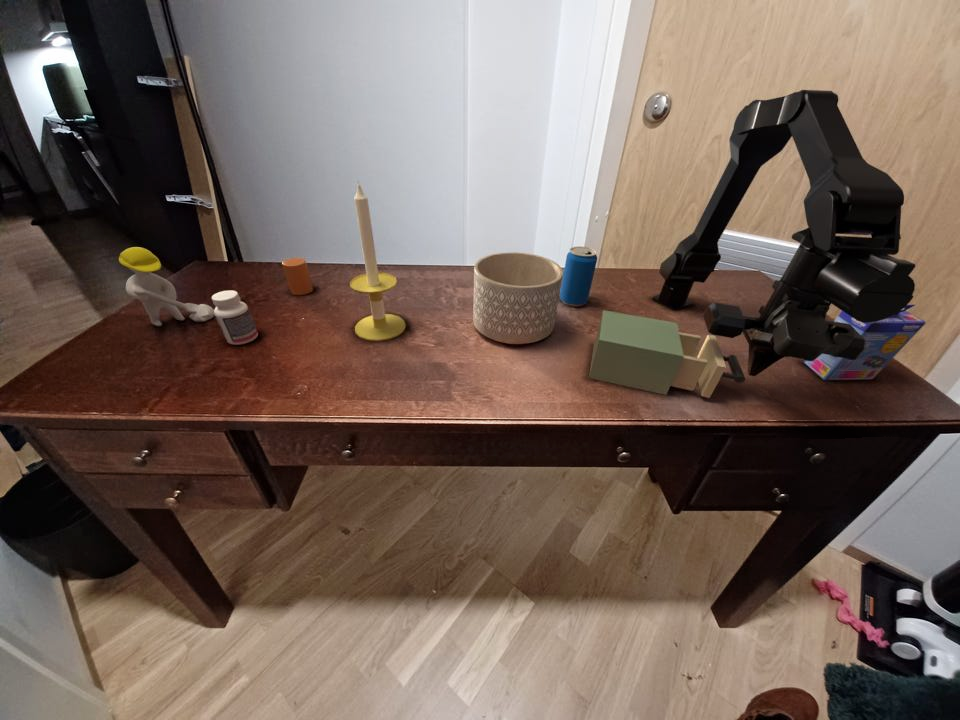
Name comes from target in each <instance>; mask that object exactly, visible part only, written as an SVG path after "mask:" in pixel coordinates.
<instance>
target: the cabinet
mask: <svg viewBox="0 0 960 720" xmlns="http://www.w3.org/2000/svg"><path fill="white" fill-rule="evenodd" d="M679 332H680V331H679V326H678V323H677V322H673V321H669V320H668V321H667V320H662V319H656V318H650V317H644V316H639V315H635V314H628V313H623V312H617V311H610V310H605V309H603V310H602V313H601V317H600V320H599V325H598V328H597V332H596V336H595V339H594V343H593V348H592V356H591V360H590V361H591V362H590V368H589V375H588V379H591V380H596V381H600V382H604V383H609V384H614V385H618V386H623V387H626V388H627V387H628V388H632V389H636V390H642V391H646V392H650V393H655V394H658V395H659V394H660V395H664V396H667V395H668V392H669V390H670V387H672V386H671V383H672V381H673V379H674V377H675V375H676V372H677V370H678V368H679V366H680V363H681V361H682V359H683V357H684V355H683V350H682V345H681V340H680V335H679Z"/></svg>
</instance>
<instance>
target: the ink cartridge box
mask: <svg viewBox="0 0 960 720" xmlns="http://www.w3.org/2000/svg"><path fill="white" fill-rule="evenodd" d="M915 306H916V304H907V305H906V306H905V307H904V308H903V309H902V310H900V311H899V312H898V313H896V314H894V315H892V316H891V317H888V318H886V319H883V320H880V321H877V322H870V323H864V322H860V321H857V320H856V319H854V318H852V317H851V316H849V315H848V314H846V313H845V312H843V311H842V310H840V313H838V315H837V317H835V319H834V320H833V321H834V322H840V323H846V324H850V325H851V326H852V327H853V328H854V329H855V330H856V331H857V332H858V333H859V334H860V335H861V336H862V337H863V338H864V339H865V341H866V349H865V350H864V352H863V353H862V354H861V355H860V357H859V358H858V359H856V360H852V359H847V358H841V357H835V356H833V355H827V354H821V355H820V356H819V357H818V358H816V359H815V360H814V361H806V360H804V361H803V364H805V365H806V366H807V367H808V368H809V369H810V370H812V372H814V373H815V374H816V375H817V376H819V377H820V378H821V379H822V380H823V381H858V380H859V381H863V380H865V381H867V380H869V381H870V380H873V379H874V378H876V376H877V375H878V374H879V373H880V372H881V371H882V370H883V369H884V368H885V367H886V366H887V365H888V364H889V363H890V362H891V360H893V359H894V358H895V357H896V355H897V354H899V352H900V351H901V350H902V349H903V348H904V347H905V346H906V345H907V344H908V342H910V340H912V339H913V338H914V336H915V335H917V333H918V332H919V331H920V330H921V329H922V328H923V327H924V325H925V324H927V321H925V320H924V319H922V318H920V317H918V316H917V315H915V314H913V313H911V312H909V311H907V310H909V309H911V308H913V307H915Z"/></svg>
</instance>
